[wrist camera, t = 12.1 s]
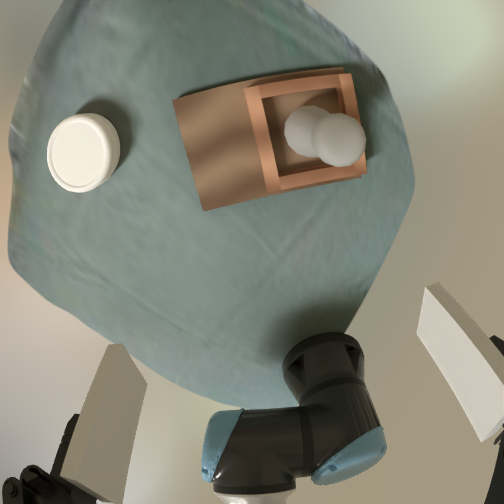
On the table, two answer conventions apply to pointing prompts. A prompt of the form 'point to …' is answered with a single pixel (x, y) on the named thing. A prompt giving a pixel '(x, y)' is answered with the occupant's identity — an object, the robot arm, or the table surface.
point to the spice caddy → (260, 135)
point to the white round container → (83, 152)
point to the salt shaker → (325, 135)
